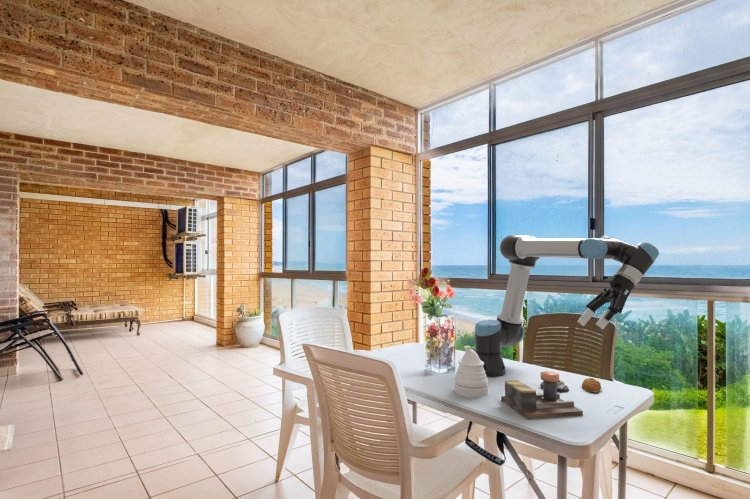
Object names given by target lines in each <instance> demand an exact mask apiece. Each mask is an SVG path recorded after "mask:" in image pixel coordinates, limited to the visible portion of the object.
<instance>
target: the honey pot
mask: <svg viewBox="0 0 750 499" xmlns="http://www.w3.org/2000/svg"><path fill="white" fill-rule="evenodd" d="M471 347H472V346H470V345H465V346H463V349H464V351H465V352H464V354H463V356H462V358H461V359H460V360H458V362H457V363H458V367H457V369H456V370H457V372H456V373H455V376H454V393H455V394H457V395H458V396H459V395H460V396H462V397H466V398H485V397H486V396H488V395H489V379H488V376H486V374H485V370H484V368H483V365H484V362H483V361H481V360H480V358H479V356H478V355H477V353H476V352H475V350H474V349H472V348H471Z"/></svg>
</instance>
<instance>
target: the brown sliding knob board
mask: <svg viewBox="0 0 750 499" xmlns="http://www.w3.org/2000/svg"><path fill="white" fill-rule="evenodd" d="M560 394H561V393H559V392H557V400H558V402H544V401H543V400H541V397H543V393H537V390H536V389H534V388H532V387H531V386H529V385H527V384H526V383H524V382H522V381H521V380H518V379H512V380H504V395H502V396H500V397H501V398H500V401H502V402H503V403H505V405H507V406H508V407H510V408H511V409H512V410H514V411H515V412H517V413H518V414H519V415H521V416H522V417H523V418H525V419H526V420H528V421H529V420H539V419H551V418H552V419H554V418H563V417H564V418H567V417H581V416H584V411H583V410H582V409H580V408H578V407H576V406H575V401H573V400H565V399H561V398H560V397H561V396H560Z"/></svg>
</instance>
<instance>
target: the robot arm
mask: <svg viewBox="0 0 750 499" xmlns="http://www.w3.org/2000/svg"><path fill="white" fill-rule="evenodd" d="M499 251H500V254H501V255H502V256H503V258H505V259H506V260H508V263H509V264H510V271H509V274H508V275H509V276H508V279H507V285H506V290H505V294H504V300H503V304H502V310H501V312H500V313H499V314H498V315H497V318H496V319H482V320H480V321H478V322H476V324H475V326H474V327H475V328H474V338H475V339H474V344H475V345H474V347H475V348H474V349H475V350H474V351H475V352H476V353H477V355H478V356H479V358H480V360H481V361H483V362H484V365H483V368H484V370H485V374H486V377H500V376H504V375H506V365H505V362H504V360H503V356H502V348H504V347H508V346H511V347H512V346H515V345H517V344H519V343H521V342H522V341H523V339H524V337H525V332H526V331H525V328H524V325H523V320H522V318H521V316H522V315H521V313H522V309H523V305H524V301H525V296H526V291H527V287H528V284H529V283H528V282H529V278H530V272H531V270H532V269H533V268H535V266H536V263H537V262H536V261H538V260H539V259H540V258H561V259H562V258H563V259H564V258H566V259H568V258H569V259H589V260H609V259H610V260H613V261H616V262H618V263H621V265H620V266H619V268H618V269H617V270H616V272H615V274H613V276H612V277H611V278H610V280H609V281H608V284H609V286H610V287H609V288H608V289H607V288H606V287H605V288H603V289H602V291H600V292H599V293H598V294H597V295H596V296H595V297H594V298H593V299H592V300H590V301H589V302H588V303H587V304H586V305H585V308H586V309H585V311H584V312H583V314H582V315H581V316H580V317H579V319H578V320H577V321H576V322H577V323H578V324H580V325H581V326H582V327H584V326H585V325H587V323H588V322H589V321H590V320H591V318H592V316H593V315H594V314H596V311H597V310H599V308H601V307H603V306H604V305H606V304H607V303H609V306H608V307H607V309H606V310H605V311H604V313H603V314H602V316H600V318H599V319H598V321H597V322H596V323H595V325H596V326H597V327H599V328H600V329H601V330H604V329H605V328H606V327H607V326H608V324H609V322H610V321H611V320H612V319H613V317H614V316H615V315H617V314H618V313H619V314H621V313H622V312H623V309H624V307H625V304H626V302H627V299H628V298H629V296H630V294H631V292H632V291H633V290H634V289H635V288H636V287H635V286H636V285H638V283H640V282H641V279H642V278H643V277H644V275H645V274H646V273H647V271H648V270H649V269H650V268H651V267H652V266H653V264H654V263H655V261H656V259H657V258H658V257H659V255H660V250H659V249H658V248H657V247H656V246H655V245H653V244H652V243H649V242H643V241H641V242H639V243H638V244H636V245H635V244H634V245H633V244H630V243H627V242H625V241H622V240H619V239H617V238H614V237H613V236H612V237H610V236H607V235H602V236H601V237H588V238H537V237H535V236H532V235H525V234H524V235H522V234H521V235H518V234H510V235H506V237H504V238H503V239H502V240H501V241H500V245H499Z"/></svg>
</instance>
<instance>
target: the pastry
mask: <svg viewBox="0 0 750 499" xmlns="http://www.w3.org/2000/svg"><path fill="white" fill-rule="evenodd" d="M581 387H582V388H583V389H584V390H585V391H586V392H588V393H599V392H601V390H602V385H601V383H600V381H598V380H597V379H595V378H594V377H588V378H585V379H584V380H583V381H582V382H581Z"/></svg>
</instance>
